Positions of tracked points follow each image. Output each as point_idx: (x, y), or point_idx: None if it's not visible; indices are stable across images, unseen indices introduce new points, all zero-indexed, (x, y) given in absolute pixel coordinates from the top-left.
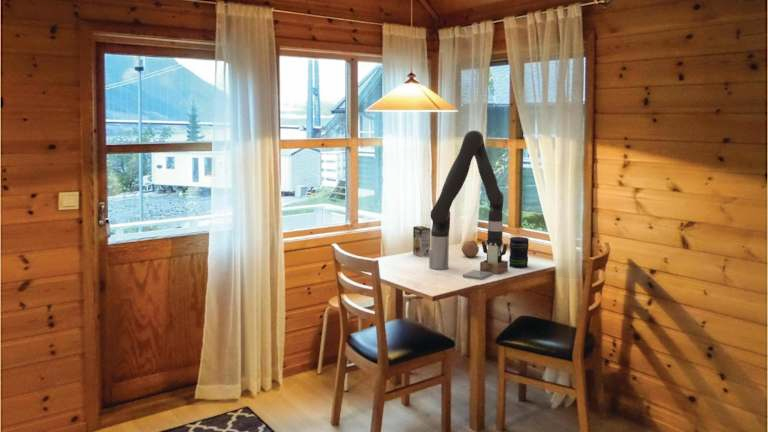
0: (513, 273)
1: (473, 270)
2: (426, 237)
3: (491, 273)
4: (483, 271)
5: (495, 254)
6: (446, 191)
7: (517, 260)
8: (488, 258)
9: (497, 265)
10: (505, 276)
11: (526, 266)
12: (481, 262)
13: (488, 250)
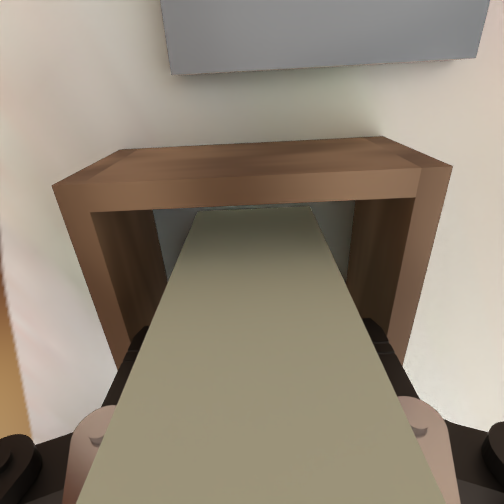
0: (56, 287)
1: (477, 9)
2: None
3: (171, 54)
4: (307, 53)
5: (162, 398)
6: None
7: None
8: (336, 302)
9: (96, 179)
10: (4, 111)
11: None
12: (426, 166)
13: (418, 493)
